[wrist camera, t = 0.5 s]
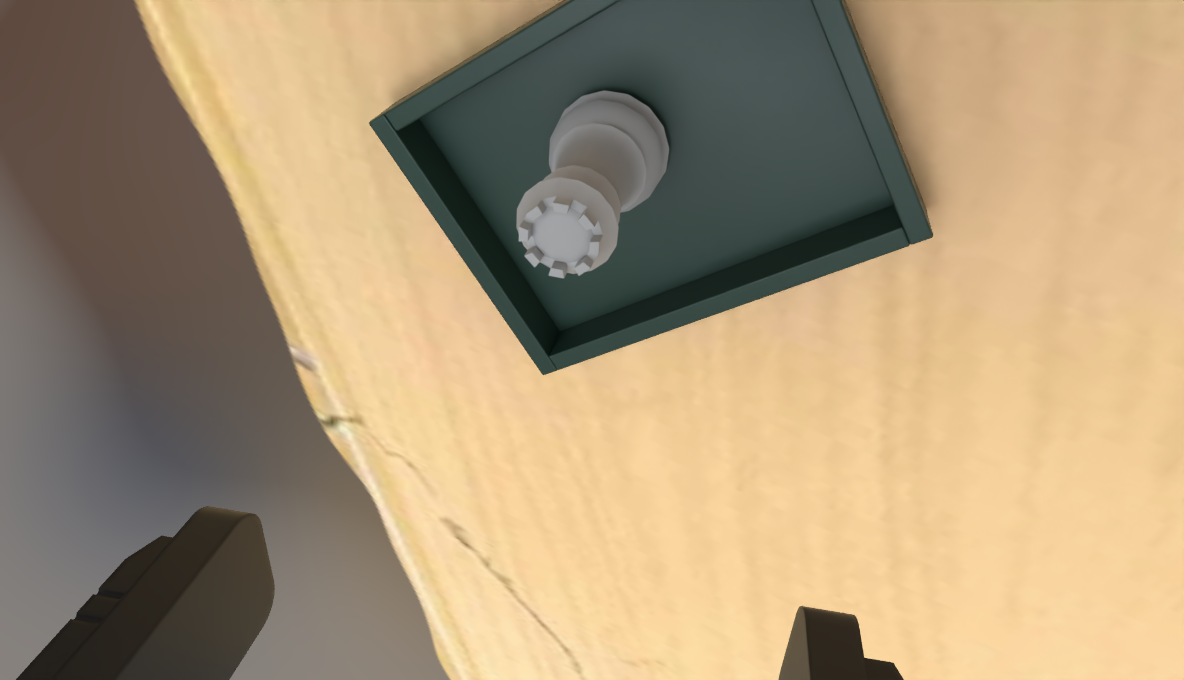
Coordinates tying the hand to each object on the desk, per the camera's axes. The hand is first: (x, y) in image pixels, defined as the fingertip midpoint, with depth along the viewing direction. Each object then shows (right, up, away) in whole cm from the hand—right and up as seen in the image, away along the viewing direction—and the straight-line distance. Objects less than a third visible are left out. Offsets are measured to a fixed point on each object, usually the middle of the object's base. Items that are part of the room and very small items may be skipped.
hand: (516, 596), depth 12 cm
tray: (+3, +11, +18) cm, 22 cm away
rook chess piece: (+2, +11, +18) cm, 22 cm away
